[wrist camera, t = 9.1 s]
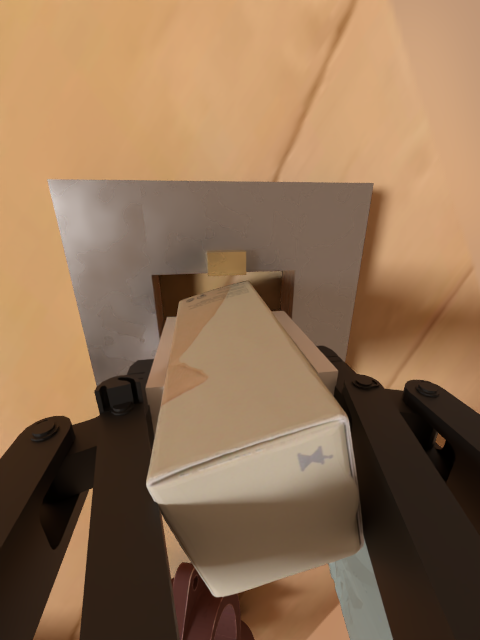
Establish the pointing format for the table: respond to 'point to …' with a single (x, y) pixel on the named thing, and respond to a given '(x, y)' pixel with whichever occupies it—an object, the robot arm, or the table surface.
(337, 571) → the embossed green cup
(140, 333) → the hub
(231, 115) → the table surface
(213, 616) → the bracket
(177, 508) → the box
